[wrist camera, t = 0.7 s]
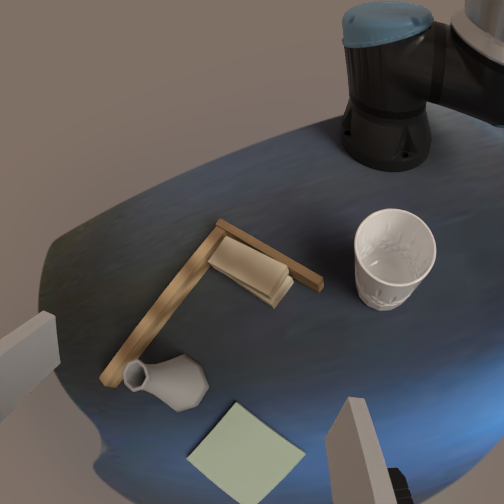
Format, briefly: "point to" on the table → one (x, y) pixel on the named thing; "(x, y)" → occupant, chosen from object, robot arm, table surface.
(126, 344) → the corner fence
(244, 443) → the coaster
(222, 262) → the offcut top
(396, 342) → the table surface
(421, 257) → the white cup
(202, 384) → the flask
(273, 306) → the offcut low
